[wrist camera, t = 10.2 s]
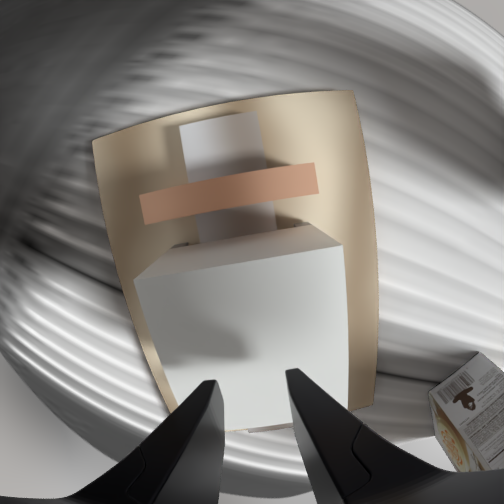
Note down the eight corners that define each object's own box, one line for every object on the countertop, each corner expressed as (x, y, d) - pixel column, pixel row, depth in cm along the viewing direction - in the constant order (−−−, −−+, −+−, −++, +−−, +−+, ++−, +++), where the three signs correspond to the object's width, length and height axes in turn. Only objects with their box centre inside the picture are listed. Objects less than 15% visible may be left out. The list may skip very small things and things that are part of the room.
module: (307, 221, 14) (342, 245, 8) (320, 345, 15) (347, 410, 10) (174, 244, 14) (133, 280, 9) (205, 362, 16) (190, 431, 10)
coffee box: (480, 402, 19) (551, 493, 4) (433, 437, 20) (493, 542, 4) (480, 348, 17) (588, 454, 2) (424, 391, 18) (515, 530, 2)
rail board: (346, 95, 13) (377, 69, 9) (368, 396, 18) (387, 434, 14) (100, 142, 14) (58, 133, 10) (182, 424, 18) (172, 465, 14)
